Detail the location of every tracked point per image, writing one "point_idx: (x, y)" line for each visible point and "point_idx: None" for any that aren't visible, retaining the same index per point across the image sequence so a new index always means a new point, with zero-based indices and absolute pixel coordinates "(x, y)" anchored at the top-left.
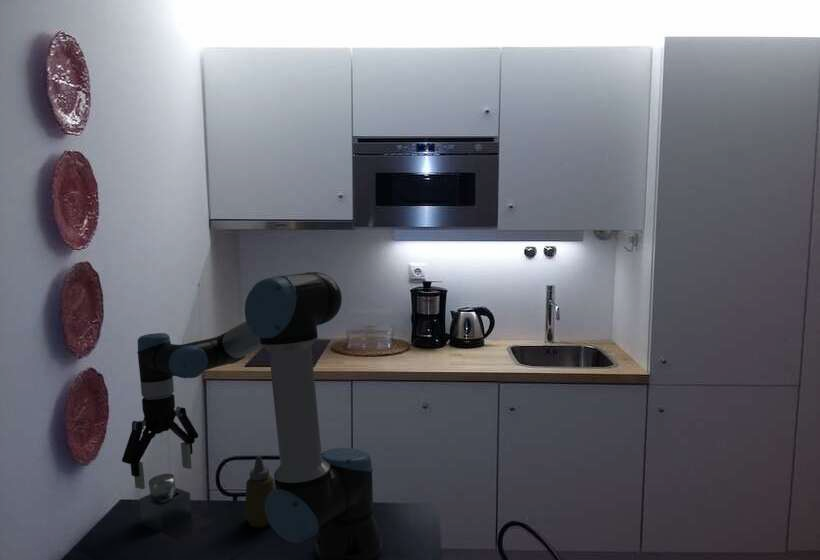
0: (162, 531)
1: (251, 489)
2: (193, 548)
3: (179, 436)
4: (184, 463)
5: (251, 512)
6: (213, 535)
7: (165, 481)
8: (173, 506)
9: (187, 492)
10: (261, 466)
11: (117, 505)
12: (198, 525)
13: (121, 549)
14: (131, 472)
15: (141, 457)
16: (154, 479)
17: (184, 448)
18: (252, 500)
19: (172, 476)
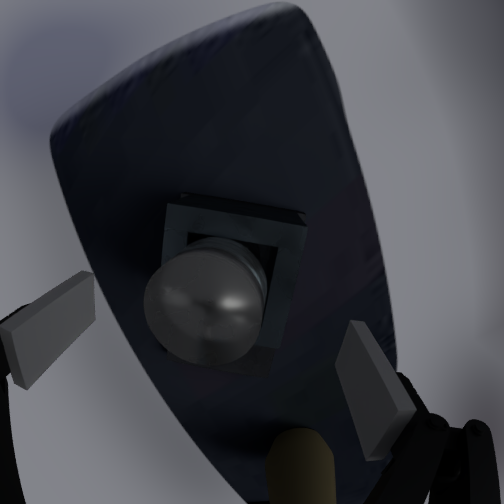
0: None
1: None
2: (171, 385)
3: (386, 480)
4: (351, 347)
5: (266, 473)
6: (229, 393)
7: (192, 346)
8: None
9: (277, 341)
10: None
11: (270, 21)
12: (234, 362)
13: (95, 242)
14: (15, 312)
15: (7, 403)
16: (186, 280)
17: (371, 417)
18: (269, 494)
19: (241, 347)
